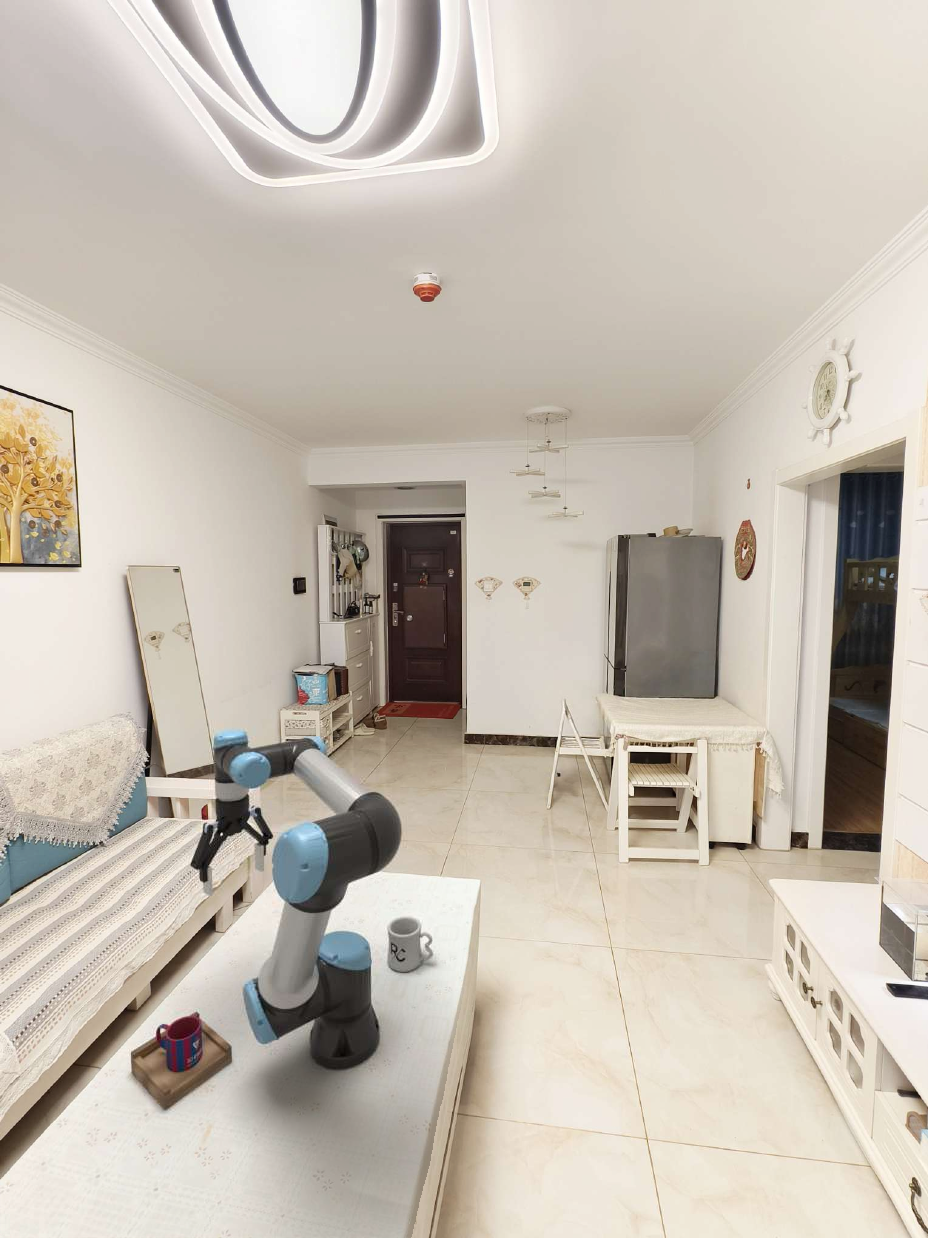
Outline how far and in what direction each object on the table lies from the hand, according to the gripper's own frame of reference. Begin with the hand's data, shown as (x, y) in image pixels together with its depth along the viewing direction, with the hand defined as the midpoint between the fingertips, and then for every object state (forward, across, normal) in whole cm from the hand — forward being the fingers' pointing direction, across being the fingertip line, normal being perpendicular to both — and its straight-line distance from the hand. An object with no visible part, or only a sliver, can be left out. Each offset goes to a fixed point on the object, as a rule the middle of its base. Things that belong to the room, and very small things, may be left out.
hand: (234, 881), depth 140 cm
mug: (+29, -34, +26) cm, 52 cm away
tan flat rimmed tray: (+29, +19, +10) cm, 36 cm away
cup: (+26, +20, +10) cm, 34 cm away
